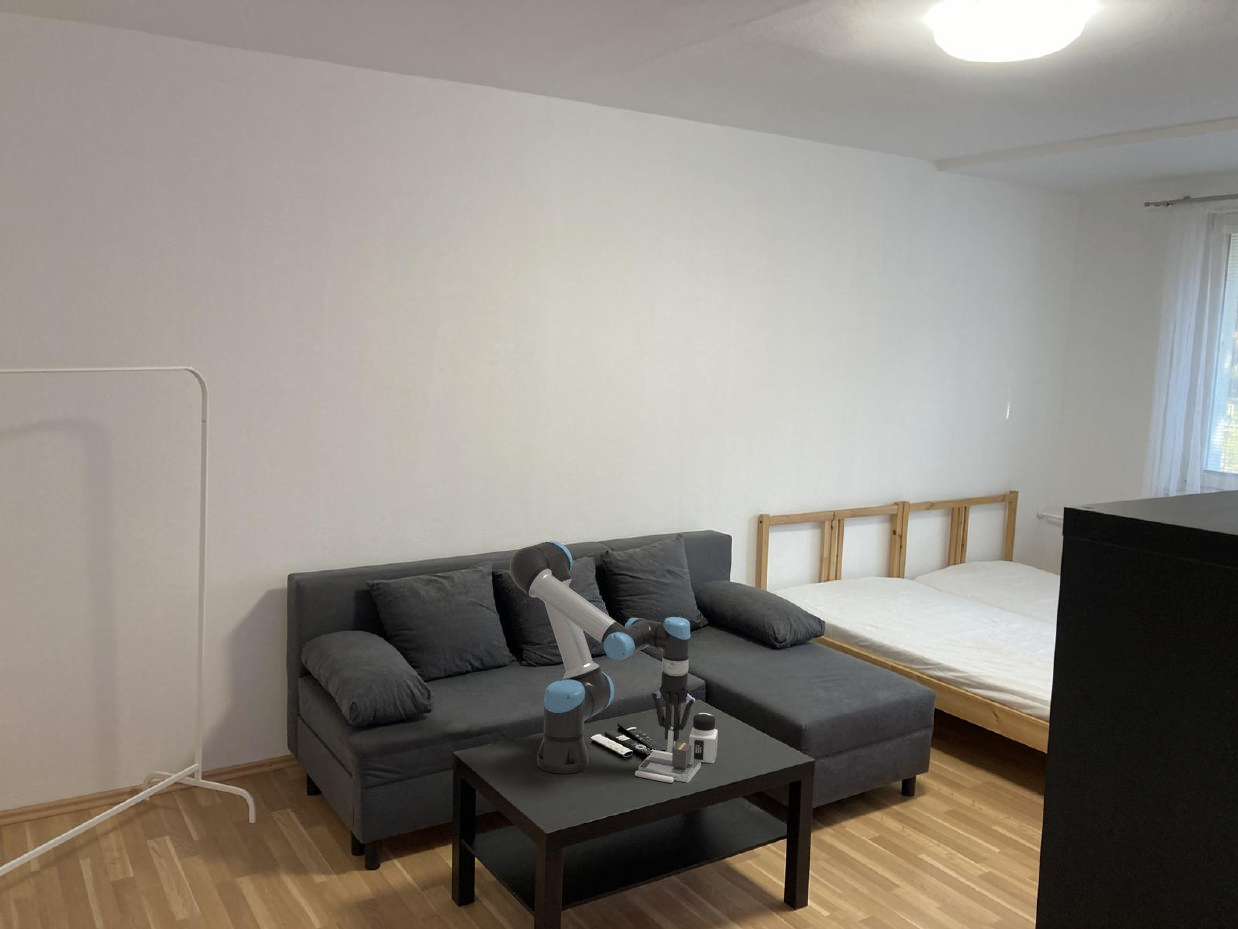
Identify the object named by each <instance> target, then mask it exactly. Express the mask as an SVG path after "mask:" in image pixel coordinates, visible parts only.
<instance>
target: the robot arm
mask: <svg viewBox="0 0 1238 929" xmlns="http://www.w3.org/2000/svg"><path fill="white" fill-rule="evenodd" d="M572 567H573V557H572V553H571V552H570V550H569V549H568V548H567V546H566V545H564V544H562V543H561V542H558V541H555V540H553V541H545V542H541V543H540V542H539V543H537V544H534V545H529V546H525V547H522V548H520V549H519V550H517V551H516V552H515V553H514V555H513V556H512V557H511V560H510V563H509V572H510V576H511V578H512V580H513V582H514V584H515V585H516V586H517V587H518V588H519V589H520V590H521V591H523V592H524V593H525V594H526V595H528V596H529V597H531V598H538V599H540V600H541V601H542V602H543V603H544V606H545V609H546V612H547V615H548V619H549V622H550V625H551V627H552V631H553V634H554V635H553V636H554V637H555V641H556V644H557V646H558V649H559V653H560V656H561V659H562V662H563V665H564V669H565V673H564V675H563V677H562V680H556V681H554V682H552V683H550V684H549V685H548V686H547V687H546V689H545V690H544V697H543V738H542V740H541V743H540V747H539V749H538V751H537V754H536V756H537V757H536V764H537V767H538V768H540V770H543V771H545V772H548V773H553V774H573V773H579V772H581V771H583V770H585V769H587V767H589V765H590V764H589V762H590V759H589V758H590V756H589V753H588V749H587V746H586V742H585V739H584V728H585V727H584V724H585V723H584V722H585V721H587V720H589V719H591V718H592V717H593V716H595V715H597V714H601V713H602V712H603V711H604V710H606V709H607V708H608V707H609V706H610V705H611V703H612V702H613V700H614V696H615V688H614V683H613V680H612V679H611V677H610V676H609V675H607V674H606V673H605V671H602V670H601V667H600V664H598V663H596V662H594V661H593V658H592V654H591V651H590V649H589V646H588V642H587V640H586V639H587V638H586V636H585V633H587V634H588V635H589V636H591V637H592V638H593V639H595V640H596V641H597V642H598V643H600V644H602V645H603V650H604V652H605V654H606V656H607V658H609V659H611V660H614V661H622V660H625V659H628V658H629V657H631V656H632V655H634V654H636V653H637V652H640V651H642V650H644V649H646V648H653V649H657V650H662V661H661V664H662V665H661V670H662V672H661V681H660V682H661V684H660V685H661V686H660V687H659V690H654V692H652V693H651V698H652V699H653V701H654V704H655V710H656V715H657V721H658V726H659V727H663V728H664V740H667V748H666V749H667V750H666V752H668V753H673V748H674V747H675V746H676V742H677V741H678V740H679V739H680V738H679V737H680V731H684V729H686V726H687V723H688V721H689V717H690V714H691V710H692V706H693V705H694V704H695V702H696V701H697V699H696V697H694V696H693V697H692V695H690V692H689V689H688V682H689V680H688V679H689V674H688V672H689V662H690V660H689V659H690V658H689V657H690V656H689V655H690V643H691V642H690V640H691V623H690V621H689V620H688V619H687V618H683V617H681V616H680V617H679V616H678V617H676V616H671V617H666V618H665V619H664V621H663V622H659V621H654V620H648V619H645V618H642V617H641V618H640V617H639V618H638V617H631V618H629V619H628V620H627V622H625V625H622V624H621V623H620V622H618V621H616V620H615V619H613V618H612V617H611V616H610V615H608V614H607V613H606V612H604V611H602V610H600V608H598V607H597V606H596V605H594V604H593V603H591V601H590V602H589V601H588V600H587V599H585V597H583V596H582V595H580V594H579V593H577V592H576V591H574V590H573V589H571V588H570V587H569V586H570V584H571V582H572V576H571V574H570V572H571V570H572ZM584 632H585V633H584ZM662 698H663V701H664V702H665V703H664V704H665V705H664V704H663V701H662ZM685 699H686V701H685ZM684 701H685V703H686V705H685V707H684V710H683V711H684V712H683V713H682V718H681V712H682V710H681V709H682V703H683V702H684ZM663 705H664V706H665V711H664V706H663ZM672 717H673V723H672ZM672 726H673V727H672ZM677 743H678V742H677Z"/></svg>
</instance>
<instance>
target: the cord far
mask: <svg viewBox="0 0 1238 929" xmlns="http://www.w3.org/2000/svg"><path fill="white" fill-rule="evenodd" d="M651 751H653V752H658V753H664V754H669V755H672V754H673V753H669V752H667V751H662V750H656V749H652V750H651Z"/></svg>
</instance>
